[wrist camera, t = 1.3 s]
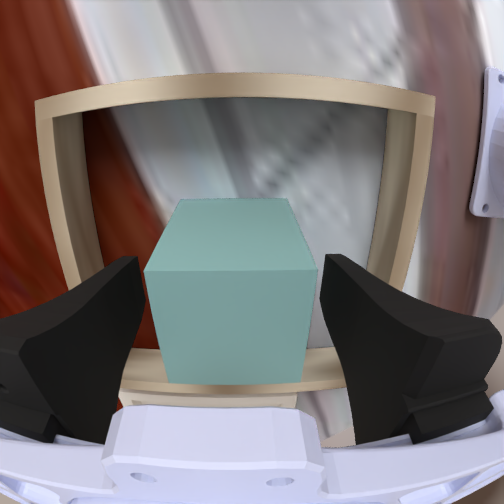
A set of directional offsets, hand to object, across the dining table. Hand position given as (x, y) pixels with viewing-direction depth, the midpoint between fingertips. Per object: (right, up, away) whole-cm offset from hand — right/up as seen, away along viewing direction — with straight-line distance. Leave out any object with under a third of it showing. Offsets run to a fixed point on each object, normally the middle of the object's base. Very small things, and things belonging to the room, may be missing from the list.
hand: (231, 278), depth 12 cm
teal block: (0, +1, +2) cm, 3 cm away
